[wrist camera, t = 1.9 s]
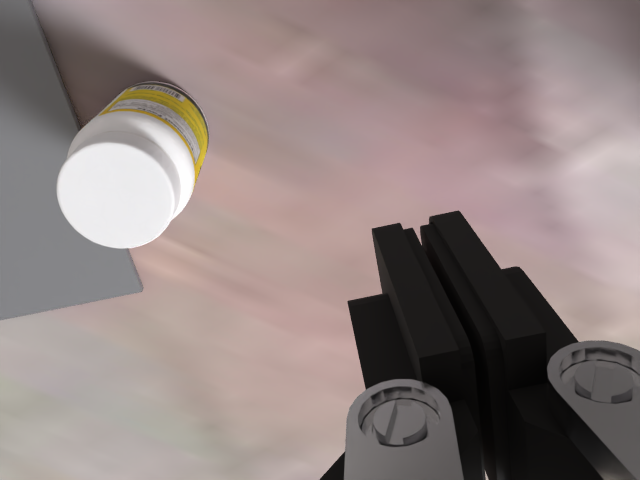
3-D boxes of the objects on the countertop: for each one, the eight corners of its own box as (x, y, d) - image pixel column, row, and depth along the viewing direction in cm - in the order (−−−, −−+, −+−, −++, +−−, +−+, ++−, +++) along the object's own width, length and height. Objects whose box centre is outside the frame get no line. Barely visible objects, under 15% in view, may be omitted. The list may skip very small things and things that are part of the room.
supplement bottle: (149, 195, 29) (102, 281, 21) (86, 113, 27) (10, 176, 19) (230, 147, 28) (212, 219, 20) (171, 59, 26) (127, 103, 19)
